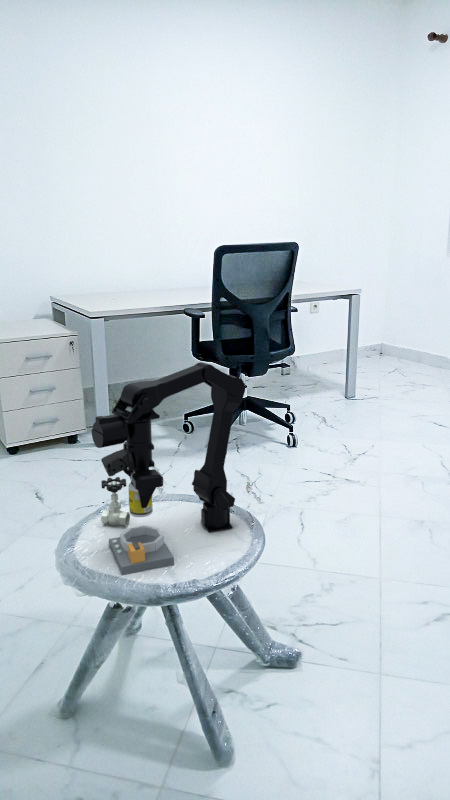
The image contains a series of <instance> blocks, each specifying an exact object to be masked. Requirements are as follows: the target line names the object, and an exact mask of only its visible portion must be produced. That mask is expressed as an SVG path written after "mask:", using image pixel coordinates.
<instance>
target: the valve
mask: <svg viewBox="0 0 450 800" xmlns="http://www.w3.org/2000/svg"><path fill="white" fill-rule="evenodd" d="M106 479H107V480H105V479H104V480H103V479H102V480H101V482H100V483H101V489H103V490H104V489H105V488H106V491H107V492H110V493H111V494H110V500H111V502H110V503H109V504H108V506H109V507H108V508H109V509H103V510H102V511H101V514H100V515H101V516H100V521H101V523H102V524H108V525H111V526H113V527H115V526H116V527H117V526H121V525H122V526H128V525H129V524H130V521H131V514H130V511H122V510H121V508H122V504H121V502H119V495H118V492H119V491H121V490H122V489H123V488H126V487H127V479H126V478H122V479H121V477H120V476H116V477H115V478H112V477H107V478H106Z"/></svg>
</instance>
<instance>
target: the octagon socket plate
mask: <svg viewBox="0 0 450 800" xmlns="http://www.w3.org/2000/svg"><path fill="white" fill-rule="evenodd" d="M132 541H137V542H141V543H142V545H143V547H144V549H145V561H144V562H139V563H133V564H132V563H131V561H130V559H129V557H128V544H132ZM108 548H109V550H110V552H111V554H112V556H113V558H114V561H115V563H116V566H117V568H118V570H119V571H120V574H121V576H125V575H130V574H134V573H135V574H136V573H141V572H144V571H151V570H156V569H159V568H164V567H165V568H167V567H169V566H170V567H172V566H175V557H174V555H173V554H172V552H171V551H170V548H169V547H168V546H167V544H166V542H165V535H164V533H163V531H162V530H161V529H160V528H159V527H155V526H149V525H140V526H134V527H129V528H127V529H126V530H125V531H124V532H122V533H121V534H120V535H119V537H112V538H108Z"/></svg>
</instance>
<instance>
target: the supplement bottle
mask: <svg viewBox="0 0 450 800" xmlns="http://www.w3.org/2000/svg"><path fill="white" fill-rule="evenodd" d="M133 474H134V472H133V473H132V474H131V479H130V482H129V484H128V507H129V513H130V516H131V517H134V518H146V517H149V516H150V515H151V514H153V511H154V510H153V506H154V505H153V496H152V497H151V499H150V501H149V503H148V505H147V507H146V508H142V507H141V503H140V499H139V494H138V490H137V489H135V488H134V487H133V485H132V484H131V481H132V475H133Z"/></svg>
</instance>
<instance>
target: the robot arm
mask: <svg viewBox="0 0 450 800" xmlns="http://www.w3.org/2000/svg"><path fill="white" fill-rule="evenodd" d="M203 383H204V384H205V385H206V386H209V387H210V398H211V402H212V406H213V412H212V413H213V414H212V420H211V425H210V429H209V430H210V431H209V438H208V442H207V447H206V448H207V449H206V452H205V459H204V463H203V465H202V467H201V468H200V469H195V470H194V473H193V480H192V483H191V486H193V488H192V489H193V492H194V494H195V495H196V496H198V498H199V501H202V508H201V509H200V516H201V518H200V523H201V525H202V526H203V527H204V528H205V529H206V531H207V532H208V533H212V532H219V531H224V530H228V529H229V530H230V529H233V525H232V524H231V518H230V517H231V508H233V507H234V506H235V501H236V498H235V497H234V496H233V495H231V493H230V492H228V491H227V489H228V480H227V476H226V473H225V463H226V456H227V451H228V446H229V442H230V441H229V440H230V434H231V431H232V423H233V419H234V414H235V412H236V410H237V409H238V408H239V406H240V405H242V401H243V398H244V395H245V392H246V383H245V382H244V381H243V379H242V378H240V377H237V376H234V375H231V374H228V373H225V372H224V371H221V370H219V369H218V368H216V367H215V366H214V365H213V364H209V363H206V362H202V361H201V362H200V361H199V362H197V363H195V364H194V365H192V366H189V367H187V368H183V369H181V370H179V371H176V372H174V373H172V374H168V375H166V376H164V377H161V378H158V379H154V380H142V381H137V382H130V383H128V384H126V385H124V386H123V388H122V390H121V393H120V397H119V399H118V400H117V402H116V404H115V405H114V406H113V407H114V408H112V410H111V414H109V415H98V416H95V419H94V420H95V421H94V423H93V424H92V429H91V438H92V441H93V443H94V446H95V447H96V448H98V449H102V448H106V447H111V446H117V445H123V447H122V448H123V449H120V450H119V449H118V450H116V451H113V452H112V453H110V454H108V455H105V456H104V457H102V458H101V459H100V460H101V463H102V466H103V467H104V468H103V469H104V470H105V472H106V473H107V476H108V477H113V476H115V475H116V474H119V473H121V472H123V473H124V474H126V475H127V476H128V477H129V479H130V482H131V484H132V485H133V487H134V488H135V489H137V490H138V494H139V499H140V503H141V507H142V508H146V507H147V505H148V503H149V501H150V499H151V497H152V498H153V494H154V493H155V491H156V489H157V488H160V487H161V488H162V487H163V486H164V477H163V476H162V474H161V473H160V472H159V471H158V470H157V469H156V468H154V467H155V465H156V464H155V461H154V460H153V451H154V450H155V444H154V443H153V438H152V420H156V419H157V420H158V419H160V417H161V415H160V414H158V412H155V410H154V409H155V408H156V407H158V406H160V404H161V403H162V402H163V400H165V399H167V398H168V397H171V396H174V395H176V394H178V393H181V392H183V391H186V390H188V389H191V388H193V387H196V386H198V385H201V384H203ZM127 408H128V409H130V410H127ZM150 468H152V469H150ZM153 468H154V469H153ZM133 472H134V474H133V475H132V481H131V474H132V473H133Z"/></svg>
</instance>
